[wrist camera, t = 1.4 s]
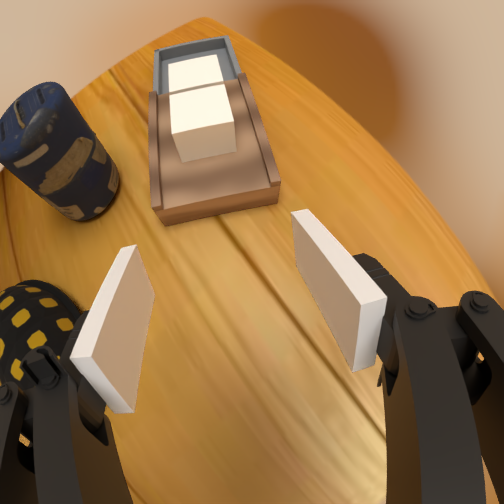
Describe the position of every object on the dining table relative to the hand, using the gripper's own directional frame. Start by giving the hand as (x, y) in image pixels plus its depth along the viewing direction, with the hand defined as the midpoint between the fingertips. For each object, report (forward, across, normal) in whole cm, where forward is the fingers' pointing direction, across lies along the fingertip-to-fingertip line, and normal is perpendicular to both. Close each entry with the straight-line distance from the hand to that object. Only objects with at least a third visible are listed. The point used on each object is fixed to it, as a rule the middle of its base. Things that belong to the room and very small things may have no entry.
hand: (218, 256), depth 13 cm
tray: (+38, 0, +13) cm, 40 cm away
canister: (+25, -16, 0) cm, 30 cm away
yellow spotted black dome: (+11, -25, -14) cm, 30 cm away
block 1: (+27, 0, +8) cm, 28 cm away
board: (+26, 0, +1) cm, 26 cm away
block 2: (+23, 0, +4) cm, 23 cm away
